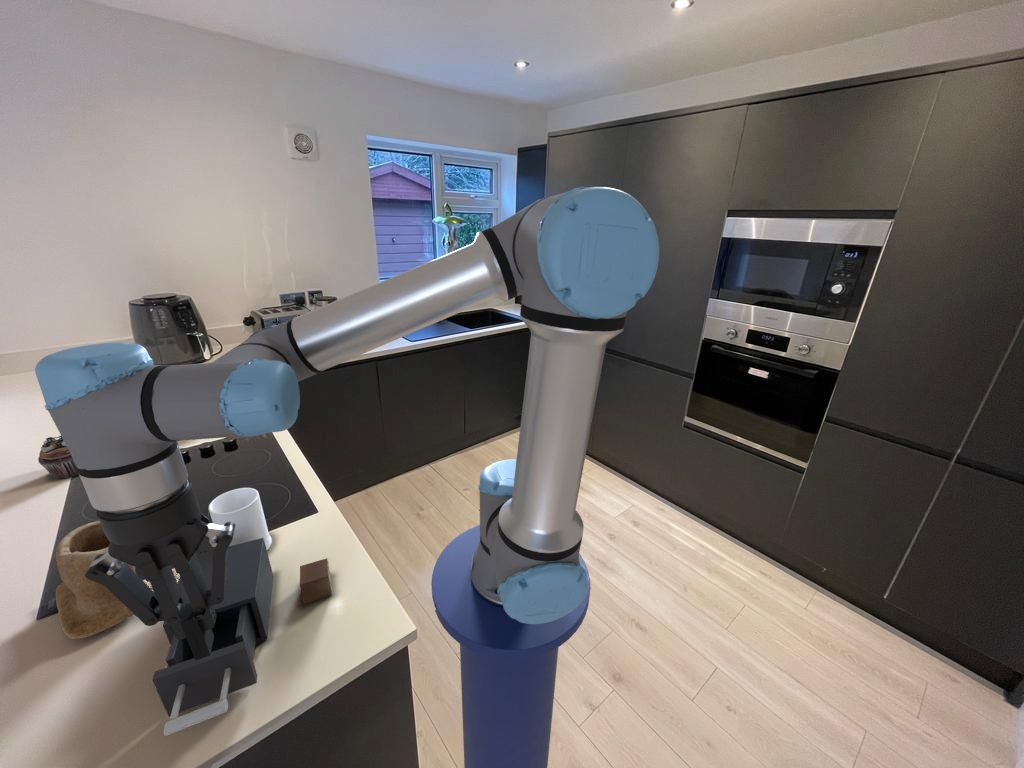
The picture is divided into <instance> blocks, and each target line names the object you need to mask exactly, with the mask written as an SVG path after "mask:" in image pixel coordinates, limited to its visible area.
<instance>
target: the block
mask: <svg viewBox="0 0 1024 768" xmlns="http://www.w3.org/2000/svg"><path fill="white" fill-rule="evenodd" d="M299 587H300V593H301V597H302V601H303V604H304V605H306V604H309V603H313V602H315V601H318V600H321V599H325V598H326V597H327V598H328V597H330V596H332V595H333V587H332V575H331V569H330V564H329V559H328V558H327V557H326V558H322V559H319V560H316V561H313V562H309V563H306V564H303V565H300V566H299Z"/></svg>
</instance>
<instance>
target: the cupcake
mask: <svg viewBox="0 0 1024 768" xmlns="http://www.w3.org/2000/svg"><path fill="white" fill-rule="evenodd" d="M37 460H38V464H39V465H41V466H42V467H43V468H44V469H45V470H46V471H47V472H48V473H49V474H50V476H51V477H52V478H53V479H56V480H62V479H68V478H72V477H77V476H79V473H78V471H77V469H76V466H75V465H74V463H75V462H74V460H73V458H72V456H71V454H70V452H69V450H68V448H67V446H66V444H65V442H64V440H63V438H62V436H61V435H59V436H56V437H55V436H54V437H52V436H49V437H46V438H45V440H44V441H43V444H42V445H41V446H40V450H39V455H38V458H37Z"/></svg>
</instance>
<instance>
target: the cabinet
mask: <svg viewBox="0 0 1024 768" xmlns="http://www.w3.org/2000/svg"><path fill="white" fill-rule="evenodd" d="M213 552H214V550H210V551H206V552H203V553H198V554H197V557H198V560H199V563H200V566H201V568H202V571H203V574H204V577H205V580H206V582H207V585H208V588H209V590H210V589H212V564H213ZM273 583H274V573H273V568H272V565H271V561H270V558H269V553H268V550H267V549H266V545H265V542H264V538H260V539H256V540H252V541H249V542H245V543H241V544H237V545H233V546H229V547H228V564H227V584H226V590H225V595H224V599H223V602H222V603H220V604H217V605H213V607H214V610H215V612H216V613H218V612H221V611H225V610H228V609H231V608H234V607H237V606H241V605H244V604H247V603H251V606H252V610H253V613H254V617H255V620H256V623H257V634H256V642H255V644H257V643H260V642H263V641H266V640H268V636H269V626H270V625H269V624H270V617H271V605H272V597H273V596H272V595H273ZM177 584H178V586H179V589H180V591H181V594H182V597H183V599H184V597H185V596H186V599H185V602H184V608H185V605H186V604H188V603H190V600H189V598H188V595H187V593H186V590H185V588H184V585H183V583H182V580H181V577H180V576H179V578H178V581H177ZM162 628H163V630H164V633H165V635H166V638H167V640H168V643H169V645H170V646H171V643H172V639H173V636H174V632H173V630H172V628H171V625H170V623H167V622H166V621H163V623H162Z"/></svg>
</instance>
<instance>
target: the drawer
mask: <svg viewBox="0 0 1024 768" xmlns="http://www.w3.org/2000/svg"><path fill="white" fill-rule="evenodd" d="M212 632H213V634H214V640H213V645H212V650H211V655H209V656H207V657H204V658H201V659H198V660H195V658H194V655H193V653H192V650H191V648H190V645H189V643H188V640H187V638H184V639H181V640H178V639H177V638H176V637H175V634H174V636H173V639H172V643H171V645H170V646H169V649H168V652H167V655H166V658H165V663H166V665H167V667H165V668H161V669H158V670H156V671H154V673H153V676H152V680H151V681H152V683H153V685H154V687H155V690H156V692H157V694H158V696H159V699H160V701H161V703H162V705H163V707H164V709H165V711H166V713H167V716H168V717H169V719H168V720H167V721H166V722H165V723H164V726H163V735H164V736H165V737H168V736H170V735H173V734H175V733H177V732H180V731H182V730H184V729H187V728H190V727H192V726H194V725H198V724H200V723H203V722H205V721H208V720H210V719H212V718H215V717H217V716H219V715H220V716H221V715H222V714H224V713H225V714H226V713H227V712H228V708H229V701H228V695H229V694H232V693H235V692H238V691H240V690H242V689H245V688H248V687H251V686H253V685H256V684H257V682H258V673H257V670H256V666H255V663H254V659H255V651H256V650H255V649H256V643H255V642H256V634H257V623H256V620H255V617H254V613H253V610H252V606H251V603H247V604H244V605H241V606H237V607H234V608H231V609H228V610H225V611H221V612H218V613H216V620H215V625H214V628H213V629H212ZM216 699H219V701H215V702H213V703H211V704H208V705H206V706H203V707H201V708H198V709H196V710H193V711H191V712H188V713H185V714H183V715H181V716H179V714H180V713H183V712H186V711H188V710H190V709H193V708H195V707H198V706H202V705H204V704H207V703H209V702H212V701H214V700H216Z"/></svg>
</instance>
